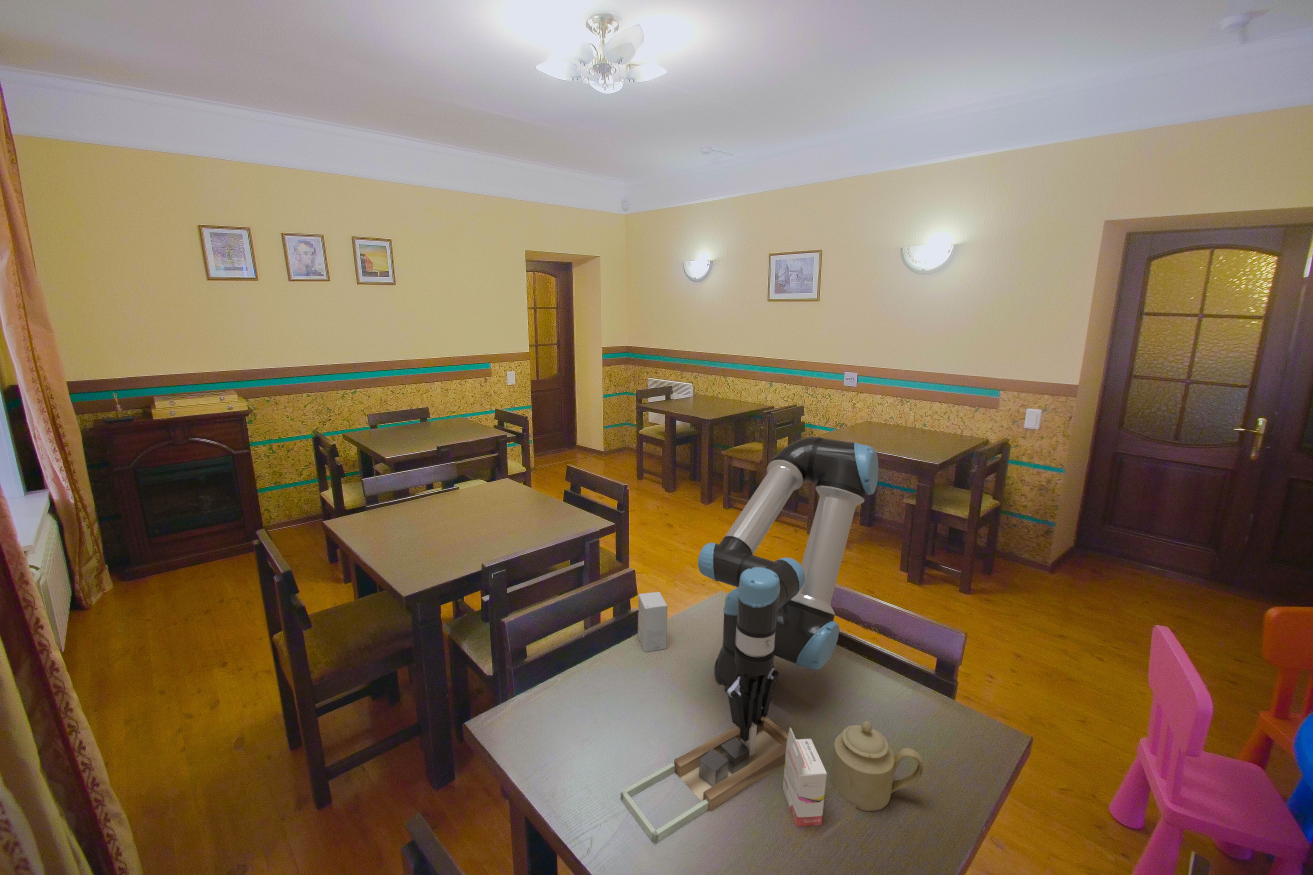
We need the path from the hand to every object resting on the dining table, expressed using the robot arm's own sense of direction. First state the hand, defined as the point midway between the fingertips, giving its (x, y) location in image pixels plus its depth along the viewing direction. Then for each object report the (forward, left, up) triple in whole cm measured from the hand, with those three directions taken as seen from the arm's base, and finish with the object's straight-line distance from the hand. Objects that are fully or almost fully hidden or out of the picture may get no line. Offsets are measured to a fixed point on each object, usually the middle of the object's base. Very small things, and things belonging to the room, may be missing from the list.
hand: (747, 750), depth 114 cm
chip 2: (0, -4, -2) cm, 4 cm away
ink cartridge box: (+14, 0, -3) cm, 14 cm away
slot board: (0, -3, -3) cm, 4 cm away
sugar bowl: (+18, +15, -3) cm, 24 cm away
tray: (-1, -21, -3) cm, 21 cm away
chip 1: (0, -9, -2) cm, 9 cm away
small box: (-45, +7, -3) cm, 46 cm away
